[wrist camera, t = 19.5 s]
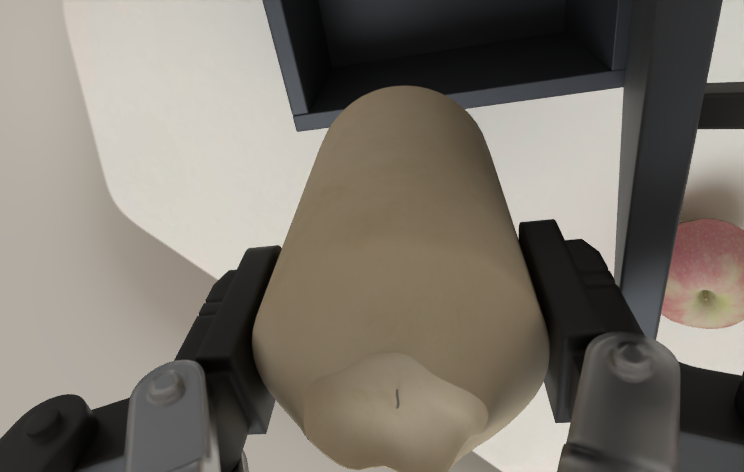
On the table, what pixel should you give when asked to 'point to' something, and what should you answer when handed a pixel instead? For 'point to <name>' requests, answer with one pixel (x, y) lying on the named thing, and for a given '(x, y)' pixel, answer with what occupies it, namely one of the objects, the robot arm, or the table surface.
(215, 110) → the table surface
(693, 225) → the apple
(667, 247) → the dark grey box lid
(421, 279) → the candle
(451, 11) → the dark grey open box
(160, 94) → the table surface
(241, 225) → the table surface
